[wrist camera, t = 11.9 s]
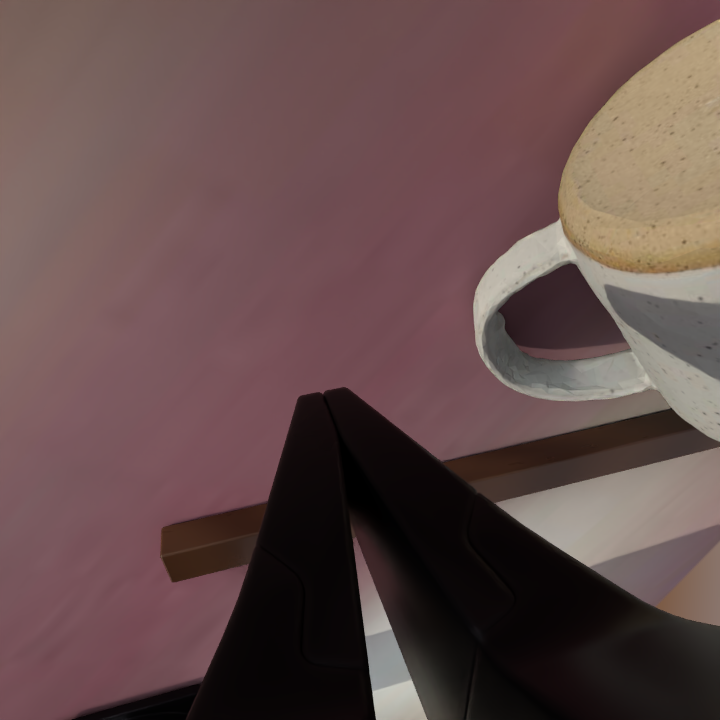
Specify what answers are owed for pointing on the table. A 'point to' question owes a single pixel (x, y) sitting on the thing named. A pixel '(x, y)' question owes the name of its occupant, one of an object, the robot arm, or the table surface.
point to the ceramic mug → (633, 244)
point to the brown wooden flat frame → (483, 471)
